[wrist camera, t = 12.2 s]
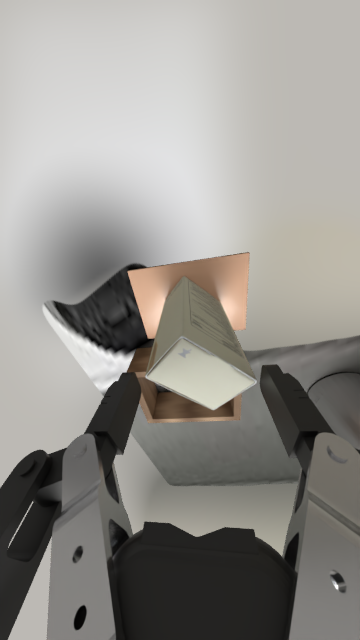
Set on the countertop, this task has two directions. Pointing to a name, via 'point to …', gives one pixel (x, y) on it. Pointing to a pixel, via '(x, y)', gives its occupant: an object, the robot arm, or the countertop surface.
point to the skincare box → (198, 349)
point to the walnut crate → (175, 399)
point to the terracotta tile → (210, 274)
